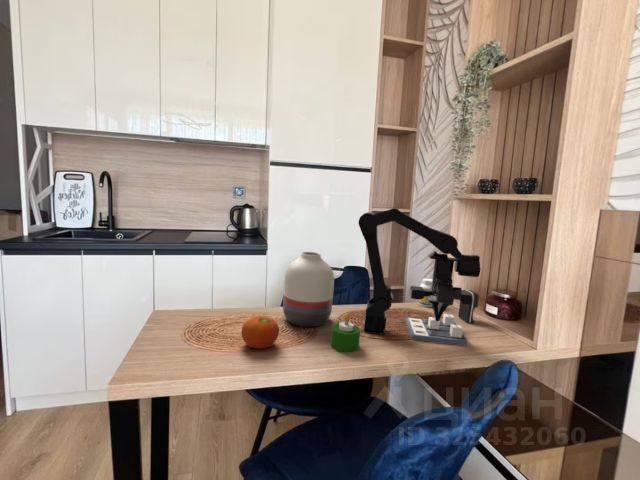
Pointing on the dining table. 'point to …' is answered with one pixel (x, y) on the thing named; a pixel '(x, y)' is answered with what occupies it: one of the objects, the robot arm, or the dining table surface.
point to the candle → (345, 336)
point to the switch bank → (432, 332)
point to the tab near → (456, 331)
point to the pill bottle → (426, 286)
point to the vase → (308, 290)
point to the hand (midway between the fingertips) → (437, 320)
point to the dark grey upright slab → (468, 308)
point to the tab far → (448, 319)
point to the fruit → (260, 332)
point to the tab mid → (433, 323)
